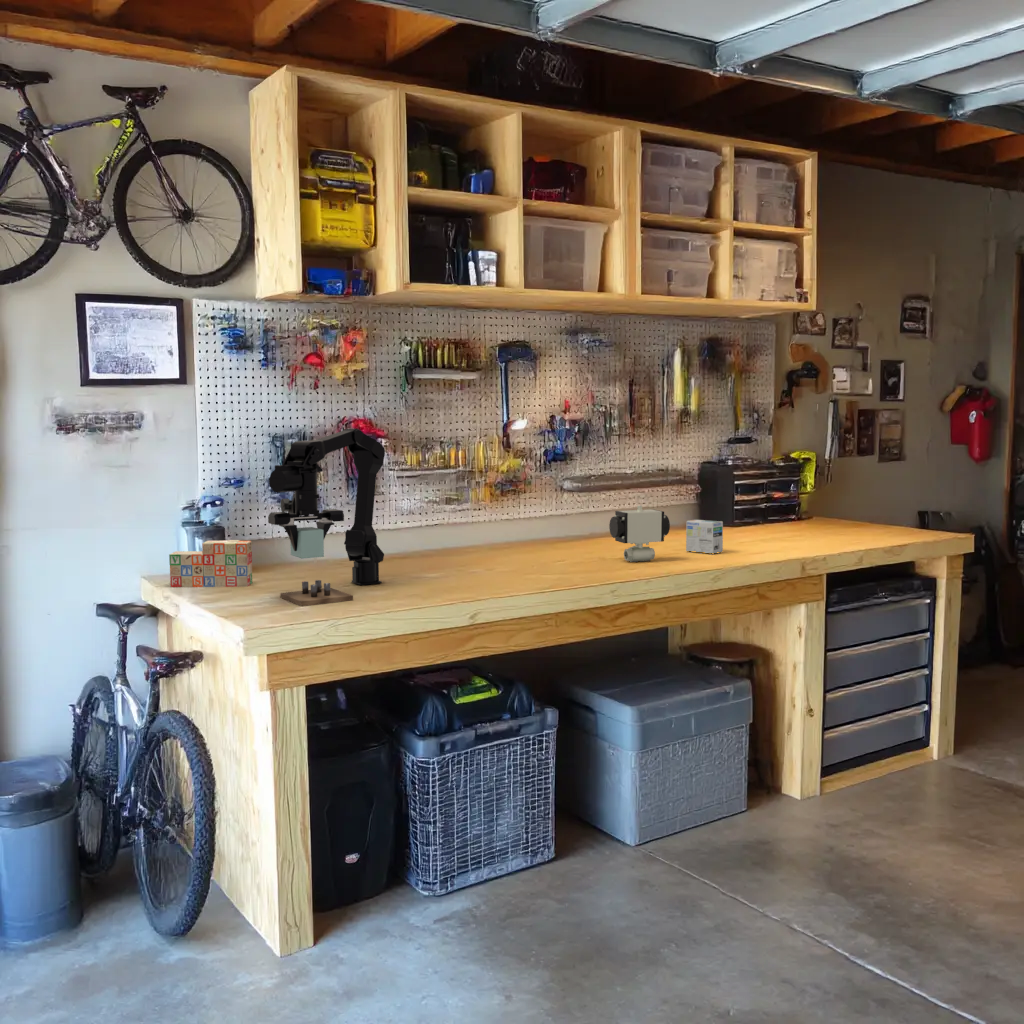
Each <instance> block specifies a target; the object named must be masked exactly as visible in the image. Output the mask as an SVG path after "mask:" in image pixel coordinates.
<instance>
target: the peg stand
mask: <svg viewBox="0 0 1024 1024" xmlns="http://www.w3.org/2000/svg"><path fill="white" fill-rule="evenodd" d="M301 588H302V589H301V590H296V591H288V592H287V591H286V592H280V593H279V594H280V595H279V597H280V599H282V600H285V601H287V602H290V603H292V604H294V605H297V606H300V607H306V606H315V605H323V604H333V603H340V602H349V601H354V595H353V594H350V593H348V592H344V591H342V590H339V589H336V588H334V587H331V583H330V582H324V583H323V587H322V580H321V579H315V580H314V583H313V584H310V587H309V581H307V580H303V581H302V582H301ZM309 588H310V589H309Z"/></svg>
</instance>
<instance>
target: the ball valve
mask: <svg viewBox="0 0 1024 1024" xmlns="http://www.w3.org/2000/svg"><path fill="white" fill-rule="evenodd" d="M614 511H615V512H614V513H615V515H614V516H612V517H610V521H609V524H608V525H609V526H608V527H609V532H610V535H611V537H612V538H613V539H615V540H614V541H616V542H618V543H622V544H631V545H633V544H634V545H633V546H630V547H628V548H625V549H624V551H623V558H624V560H625V561H628V562H629V561H630V562H629V563H635V562H636V563H637V562H638V561H640V562H650V561H651V560H654V559H655V556H656V552H655V549H654V548H653V547H650V546H648V545H649V544H650V543H658V542H659V543H660V542H664V541H665V537H666V536H668V535H669V532H670V530H671V529H670V528H671V526H670V525H671V523H670V519H669V516H668V515H666V514H665V511H662V510H657V509H643V506H642V505H637V509H634V510H633V509H631V510H630V509H629V510H614ZM644 544H645V545H646V546H644ZM638 563H639V562H638Z"/></svg>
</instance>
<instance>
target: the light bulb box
mask: <svg viewBox="0 0 1024 1024" xmlns="http://www.w3.org/2000/svg"><path fill="white" fill-rule="evenodd" d="M685 526H686V527H685V529H686V531H685V533H686V534H685V535H686V536H685V537H686V540H685V542H686V543H685V552H686V551H696V552H705V553H717V552H722V551H723V552H724V550H723V549H724V548H723V547H724V545H723V544H724V543H723V542H724V540H723V539H724V538H723V537H724V531H723V530H724V522H723V521H722V520H720V521H719V520H718V521H717V520H707V519H705V520H704V519H691V520H686V525H685ZM723 552H722V553H723Z"/></svg>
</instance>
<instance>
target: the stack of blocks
mask: <svg viewBox="0 0 1024 1024" xmlns="http://www.w3.org/2000/svg"><path fill="white" fill-rule="evenodd" d="M201 544H202V548H201V549H202V551H201V550H200V551H199V550H197V551H196V550H192V551H190V550H188V551H185V550H183V551H182V550H181V551H180V550H179V551H173V552H172V553H170V554H168V557H169V562H168V563H169V577H170V578H169V580H170V588H178V587H179V588H211V587H212V588H216V587H217V588H218V587H219V588H220V587H221V588H223V587H226V588H228V587H231V588H232V587H243V588H244V587H250V585H252V584H253V551H252V544H253V543H252V540H241V539H229V540H227V539H226V540H205V542H202V543H201Z"/></svg>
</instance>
